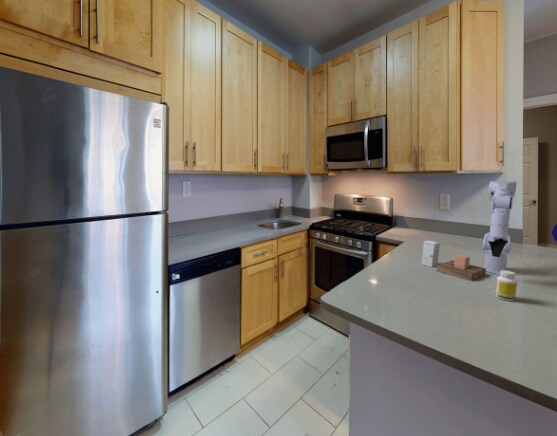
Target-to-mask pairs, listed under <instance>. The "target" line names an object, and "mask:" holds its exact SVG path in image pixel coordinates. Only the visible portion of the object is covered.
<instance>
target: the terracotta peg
mask: <svg viewBox="0 0 557 436" xmlns="http://www.w3.org/2000/svg"><path fill="white" fill-rule="evenodd" d="M470 260H471V257H470V256H469V255H468V256H467V255H463V254H457V255H456V254H455V255H454V258H453V261H454V267H456V268H461V269H465V270H466V269H469V264H470Z"/></svg>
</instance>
